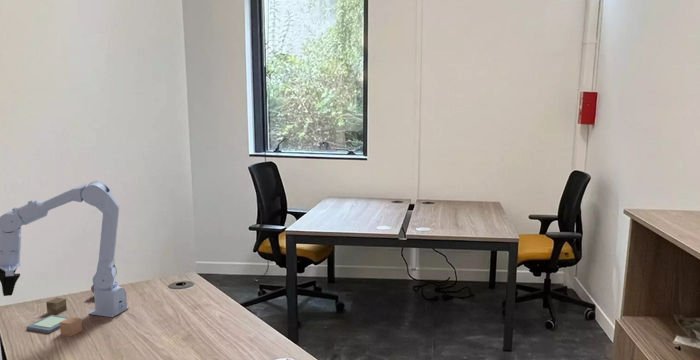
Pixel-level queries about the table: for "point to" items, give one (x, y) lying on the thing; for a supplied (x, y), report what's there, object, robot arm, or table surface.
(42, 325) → the baseplate
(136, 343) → the table surface
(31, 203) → the robot arm
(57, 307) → the brass cube
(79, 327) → the terracotta cube
